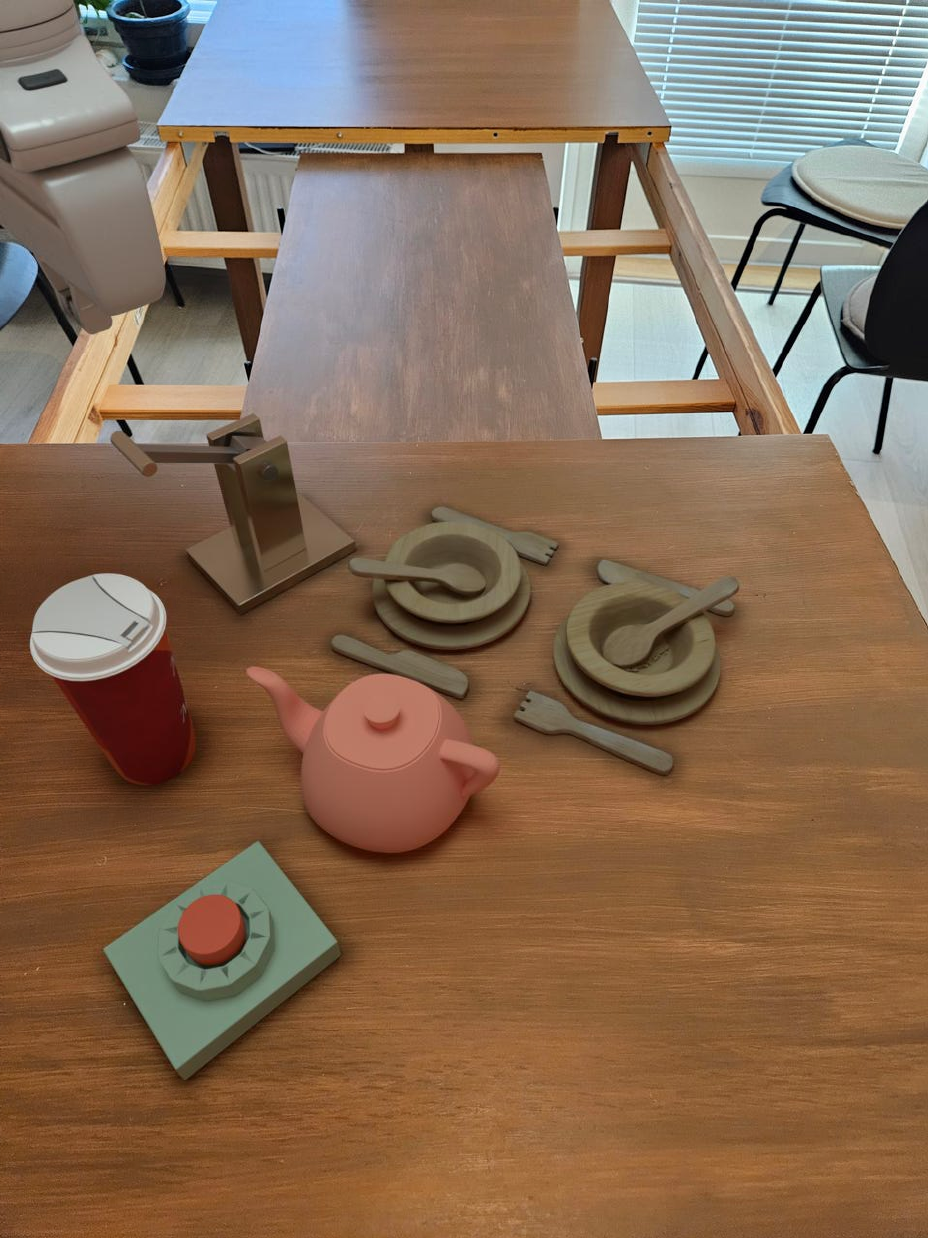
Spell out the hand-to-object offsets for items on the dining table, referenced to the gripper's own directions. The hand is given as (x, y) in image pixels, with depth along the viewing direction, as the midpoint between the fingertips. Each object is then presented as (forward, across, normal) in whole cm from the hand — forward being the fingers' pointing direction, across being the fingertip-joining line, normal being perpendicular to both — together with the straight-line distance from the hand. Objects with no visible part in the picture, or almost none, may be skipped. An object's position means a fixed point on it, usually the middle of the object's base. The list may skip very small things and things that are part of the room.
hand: (88, 320), depth 57 cm
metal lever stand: (+26, 0, +9) cm, 28 cm away
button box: (+26, +29, -13) cm, 41 cm away
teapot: (+26, +25, +2) cm, 36 cm away
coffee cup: (+26, +12, -9) cm, 30 cm away
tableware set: (+26, +22, +21) cm, 40 cm away
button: (+23, +29, -13) cm, 39 cm away
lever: (+14, 0, +4) cm, 15 cm away
